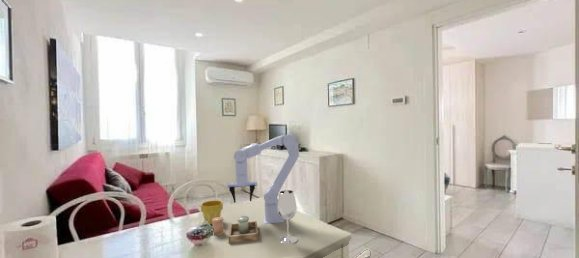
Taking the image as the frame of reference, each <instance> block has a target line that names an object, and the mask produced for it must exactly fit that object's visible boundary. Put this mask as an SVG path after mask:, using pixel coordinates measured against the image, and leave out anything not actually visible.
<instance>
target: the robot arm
mask: <svg viewBox="0 0 579 258" xmlns="http://www.w3.org/2000/svg"><path fill="white" fill-rule="evenodd" d="M275 146H281V147H282V146H284V147H285V149H286V150H287V153H288V156H287V158H286V160H285V161H284V163H283V165H282V167H281V168H280V170H279V172H278V174H277V175H276V177H275V179H274V180H273V182H272V184H271V185H270V187H268V188H267V189H266V192H265V194H264V195H263V200H264V217H263V221H264V224H265V225H267V224H276V223H284V222H285V221H286V220H285V219H283V218H281V217H280V215H279V214H278V200H279V194H280V191H281V188H282V187H283V185H284V184H285V182H286V181H287V180H286V179H287V178H288V176H289V174H290V173H291V171H292V170H293V167H294V166H295V164H296V162H297V160H298V158H299V157H300V153H299V141H298V139H297V137H296V135H295V134H293V133H287V134H281V135H279V136H275V137H273V138H272V139H269V140H267V141H265V142H263V143H261V144H260V143H257V142H256V143H254V142H252V143H250V145H248V146H246V147H245V146H243V147H241V148H240V149H238V150H235V152H234V153H233V159H234V161H235V166H234V167H235V182H230V183H226V189H228V190H229V192H230V194H231V197H232V199H233V200H232V201H233V203H234V204H235V203H236V201H237V200H236V199H237V198H236V190H235V189H236V188H244V187H247V188H248V187H249V202H252V199H253V194H254V191H255V189H256V187H257V186H258V181H249V177H248V174H249V173H248V161H247V159H251V158H254V157H256V156H259V155H261V153H262V152H263V150H266V149H269V148H272V147H275ZM285 223H286V222H285Z"/></svg>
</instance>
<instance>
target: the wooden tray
mask: <svg viewBox="0 0 579 258" xmlns="http://www.w3.org/2000/svg"><path fill="white" fill-rule="evenodd" d="M257 223H258V221H257V220H255V221H248V227H249V231H248V232H247V233H239V229H238V222H234V223H229V229H228V235H227V236H228V244H233V243H242V242H244V243H245V242H251V241H253V242H254V241H259V230H258V229H259V228H258V224H257Z"/></svg>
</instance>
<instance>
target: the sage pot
mask: <svg viewBox="0 0 579 258" xmlns="http://www.w3.org/2000/svg"><path fill="white" fill-rule="evenodd" d="M249 220H250V217H249V216H247V215H241V216H238V217H237V220H236V221H237V223H238V229H239V233H247V232H248V231H249V227H248V222H249Z"/></svg>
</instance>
